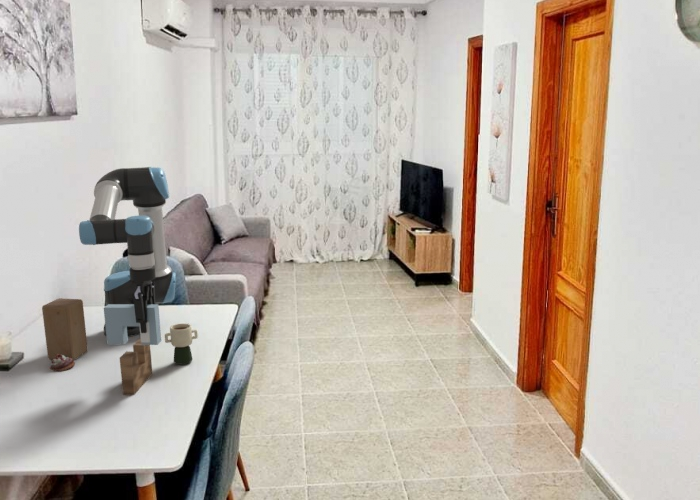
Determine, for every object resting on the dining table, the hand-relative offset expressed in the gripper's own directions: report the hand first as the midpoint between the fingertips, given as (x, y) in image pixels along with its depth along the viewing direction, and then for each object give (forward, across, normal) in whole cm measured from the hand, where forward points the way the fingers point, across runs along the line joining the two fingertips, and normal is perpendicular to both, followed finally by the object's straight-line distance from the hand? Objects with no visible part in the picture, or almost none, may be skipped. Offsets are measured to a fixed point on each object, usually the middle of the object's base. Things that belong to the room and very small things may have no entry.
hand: (148, 339), depth 211 cm
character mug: (+15, -18, +4) cm, 24 cm away
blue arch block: (+1, 0, -4) cm, 5 cm away
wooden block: (+15, -23, -39) cm, 48 cm away
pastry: (+15, -13, -36) cm, 41 cm away
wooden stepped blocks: (+15, 0, -5) cm, 16 cm away
